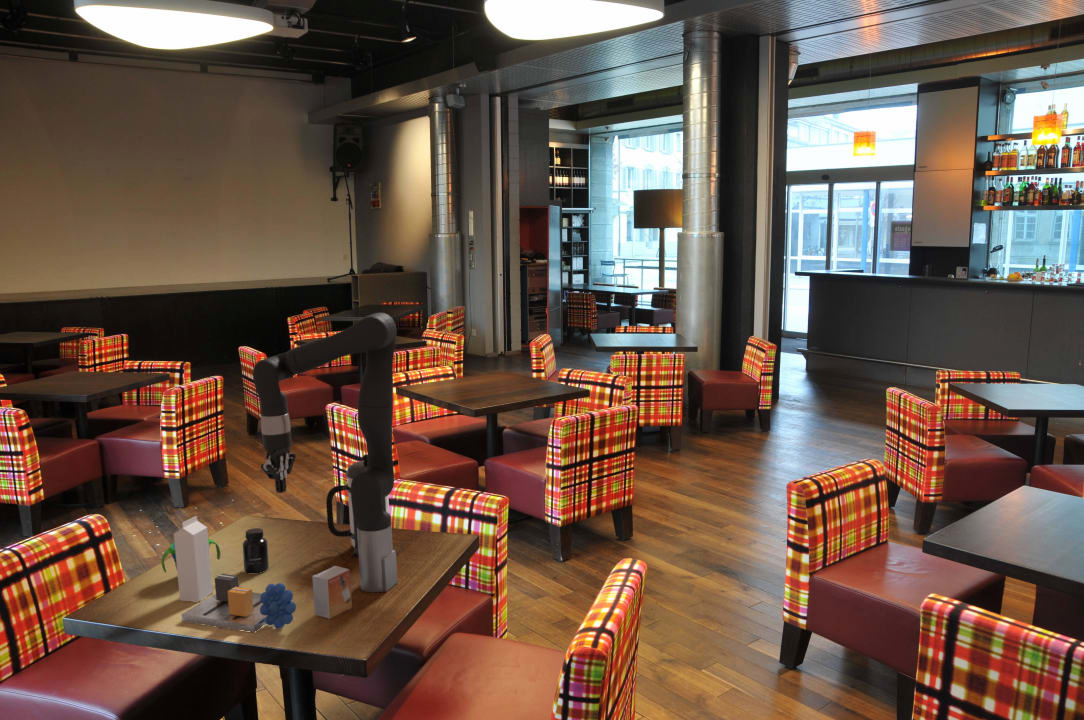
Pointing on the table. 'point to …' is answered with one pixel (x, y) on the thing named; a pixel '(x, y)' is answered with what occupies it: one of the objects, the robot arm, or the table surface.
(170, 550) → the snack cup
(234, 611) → the orange fader
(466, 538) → the table surface
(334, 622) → the table surface
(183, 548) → the milk
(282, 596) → the grapes
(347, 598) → the small box
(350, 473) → the coffee press
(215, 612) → the console
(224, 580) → the block
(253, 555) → the supplement bottle
